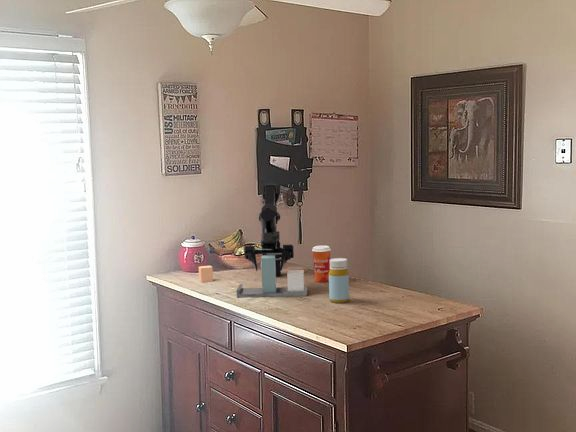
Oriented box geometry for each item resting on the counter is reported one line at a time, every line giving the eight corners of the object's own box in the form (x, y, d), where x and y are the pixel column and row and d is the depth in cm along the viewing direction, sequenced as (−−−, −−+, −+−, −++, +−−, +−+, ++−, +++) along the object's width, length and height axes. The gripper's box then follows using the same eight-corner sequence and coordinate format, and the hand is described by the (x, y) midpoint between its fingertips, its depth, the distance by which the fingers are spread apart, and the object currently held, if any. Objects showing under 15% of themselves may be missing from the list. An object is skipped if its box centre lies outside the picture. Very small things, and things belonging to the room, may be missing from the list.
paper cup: (310, 282, 278) (309, 248, 276) (316, 278, 285) (315, 244, 283) (328, 283, 275) (327, 248, 273) (334, 279, 282) (333, 245, 281)
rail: (236, 297, 257) (235, 275, 256) (240, 291, 267) (239, 270, 266) (306, 296, 255) (305, 274, 254) (307, 289, 265) (306, 268, 264)
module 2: (262, 288, 264) (261, 255, 263) (276, 288, 264) (275, 255, 262) (261, 292, 258) (260, 258, 257) (275, 292, 258) (274, 257, 256)
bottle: (351, 299, 249) (350, 258, 247) (346, 303, 242) (345, 261, 240) (332, 298, 251) (331, 257, 249) (327, 302, 244) (326, 261, 242)
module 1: (210, 279, 291) (210, 265, 290) (213, 281, 287) (212, 267, 286) (199, 280, 289) (198, 266, 288) (201, 282, 285) (200, 268, 284)
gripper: (243, 224, 262) (242, 258, 253) (292, 223, 262) (293, 257, 252) (245, 242, 271) (244, 275, 261) (293, 240, 270) (294, 274, 261)
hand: (268, 270), depth 259 cm, fingers open, 9 cm apart
